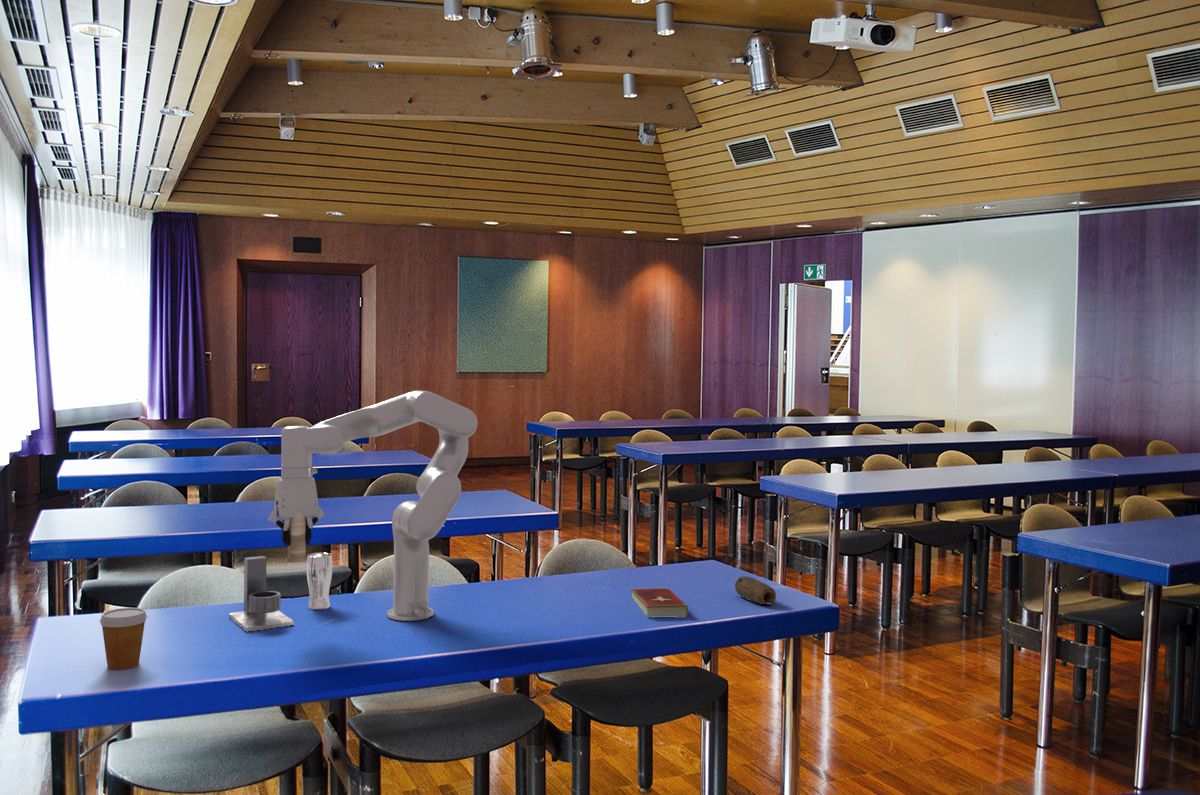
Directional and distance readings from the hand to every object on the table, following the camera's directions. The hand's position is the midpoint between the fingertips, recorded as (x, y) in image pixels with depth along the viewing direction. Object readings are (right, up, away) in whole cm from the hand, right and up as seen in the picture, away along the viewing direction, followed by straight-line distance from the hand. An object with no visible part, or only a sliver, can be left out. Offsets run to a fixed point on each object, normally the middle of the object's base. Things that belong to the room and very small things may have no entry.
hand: (296, 543), depth 234 cm
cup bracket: (-12, -22, +7) cm, 26 cm away
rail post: (0, -4, 0) cm, 4 cm away
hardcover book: (+95, -24, +29) cm, 103 cm away
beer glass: (-1, -22, +23) cm, 32 cm away
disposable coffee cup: (-29, -23, -30) cm, 48 cm away
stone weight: (+125, -24, +40) cm, 134 cm away
